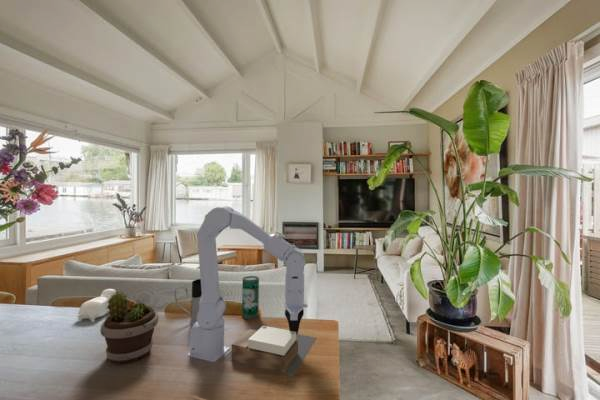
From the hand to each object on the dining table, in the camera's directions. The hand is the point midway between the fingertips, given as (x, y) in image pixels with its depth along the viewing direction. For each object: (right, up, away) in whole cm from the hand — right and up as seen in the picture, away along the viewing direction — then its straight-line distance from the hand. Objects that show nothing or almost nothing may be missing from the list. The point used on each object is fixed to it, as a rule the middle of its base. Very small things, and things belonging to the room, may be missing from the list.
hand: (293, 334), depth 84 cm
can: (-18, -6, +27) cm, 33 cm away
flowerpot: (-48, -5, -2) cm, 49 cm away
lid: (-6, -1, -4) cm, 7 cm away
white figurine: (-77, -5, +26) cm, 82 cm away
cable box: (-8, -5, -3) cm, 10 cm away
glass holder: (-38, -6, +21) cm, 44 cm away
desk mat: (-7, -6, +2) cm, 9 cm away
